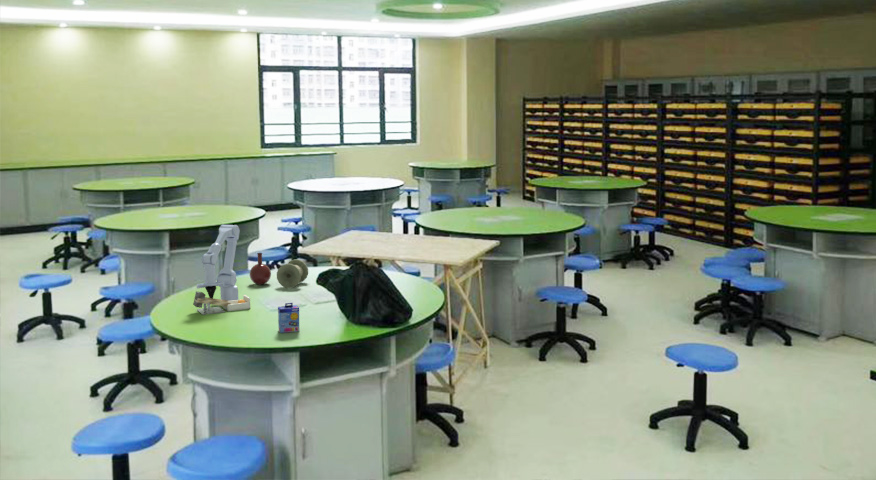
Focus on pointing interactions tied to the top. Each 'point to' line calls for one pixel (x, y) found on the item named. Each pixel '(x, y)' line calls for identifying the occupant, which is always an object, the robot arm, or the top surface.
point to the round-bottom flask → (260, 272)
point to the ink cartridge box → (288, 318)
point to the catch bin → (238, 304)
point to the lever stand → (210, 310)
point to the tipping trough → (208, 300)
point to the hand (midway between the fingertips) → (211, 299)
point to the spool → (292, 273)
